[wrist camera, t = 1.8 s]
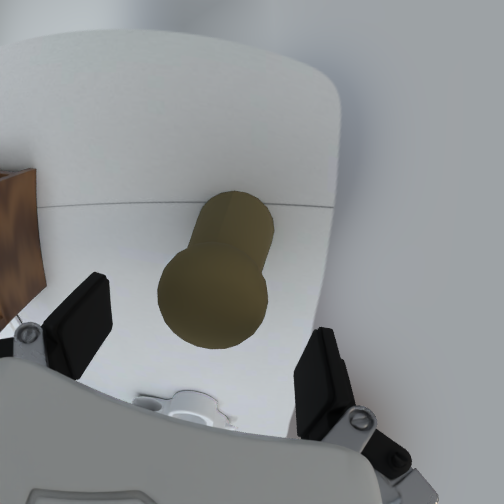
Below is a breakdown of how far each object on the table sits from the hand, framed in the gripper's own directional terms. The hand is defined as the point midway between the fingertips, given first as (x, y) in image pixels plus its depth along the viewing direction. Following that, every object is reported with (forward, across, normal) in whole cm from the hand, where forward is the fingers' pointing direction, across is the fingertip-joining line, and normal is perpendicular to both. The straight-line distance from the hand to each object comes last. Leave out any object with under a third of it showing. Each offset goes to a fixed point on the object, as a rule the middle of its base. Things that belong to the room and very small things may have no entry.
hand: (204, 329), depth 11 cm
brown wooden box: (+11, +29, +4) cm, 31 cm away
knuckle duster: (+12, +1, +30) cm, 33 cm away
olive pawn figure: (+11, 0, -1) cm, 11 cm away
